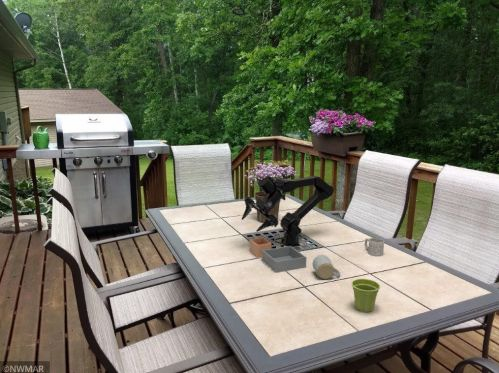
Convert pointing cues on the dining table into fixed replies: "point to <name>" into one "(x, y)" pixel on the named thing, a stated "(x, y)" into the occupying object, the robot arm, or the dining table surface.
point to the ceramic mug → (324, 267)
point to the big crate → (283, 259)
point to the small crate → (259, 246)
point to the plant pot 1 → (259, 215)
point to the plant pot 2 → (365, 294)
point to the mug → (375, 246)
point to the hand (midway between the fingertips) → (249, 225)
